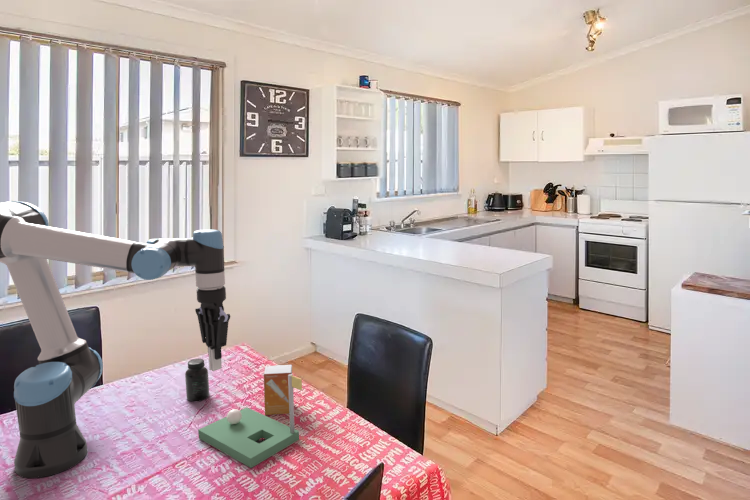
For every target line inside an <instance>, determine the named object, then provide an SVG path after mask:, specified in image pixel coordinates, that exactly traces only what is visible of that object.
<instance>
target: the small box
mask: <svg viewBox="0 0 750 500" xmlns="http://www.w3.org/2000/svg"><path fill="white" fill-rule="evenodd" d="M289 374H292V375H293V364H276V365H265V366H264V372H263V388H264V389H263V391H264V392H263V394H264V396H263V397H264V415H265V416H269V415H272V416H273V415H285V414H286V415H289V385H288V375H289Z"/></svg>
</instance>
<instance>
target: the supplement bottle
mask: <svg viewBox="0 0 750 500" xmlns="http://www.w3.org/2000/svg"><path fill="white" fill-rule="evenodd" d="M205 366H206V365H205V359H204V358H192V359H190V360H189V361H187V369H186V370H185V373H184V378H185V392H186V393H185V394H186V399H187V400H188V401H190V402H201V401H204V400H206V399H208V397H209V396H210V383H209V371H208V368H207V367H205Z"/></svg>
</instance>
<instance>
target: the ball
mask: <svg viewBox="0 0 750 500" xmlns="http://www.w3.org/2000/svg"><path fill="white" fill-rule="evenodd" d="M226 417H227V421H228V422H229V423H230V424H237V423H239V422H240V420H241V418H242V414H241V412H240V410H239V409H236V408H233V409H231V410H229V411H228V412H227V414H226Z"/></svg>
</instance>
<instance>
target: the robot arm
mask: <svg viewBox="0 0 750 500" xmlns="http://www.w3.org/2000/svg"><path fill="white" fill-rule="evenodd" d="M224 248H225V247H224V241H223V233H222V231H220V230H219V229H198V230H197V229H196V230H194V231H193V234H192V237H187V238H186V237H185V238H181V237H180V238H179V237H176V238H170V237H167V238H164V237H159V238H150V239H148V240H147V241H146V242H140V241H139V242H137V241H134V240H127V239H123V238H122V239H121V238H117V237H112V236H111V237H110V236H107V235H106V236H105V235H99V234H93V233H88V232H82V231H77V230H72V229H71V230H70V229H65V228H59V227H53V226H50V225H49V220H48V218H47V216H46V214H45V212H43V211H42V210H41V208H40V207H38V206H37V205H34V204H33V203H30V202H26V201H16V200H10V201H5V202H0V263H2V264H4V265H5V266H6V267H7V270H8V272H9V275H10V278H11V280H12V282H13V284H14V287H15V289H16V291H17V295H18V297H19V299H20V302H21V304H22V306H23V308H24V310H25V314H26V316H27V318H28V320H29V323H30V325H31V329H32V330H33V333H34V335H35V338H36V340H37V343H38V345H39V347H40V353H39V355H38V356H37V361H38V364H36V365H35V366H31V367H28V368H27V369H25V370H24V371H22V372H21V373H20V374H19V375H18V376H17V377H16V378H15V380H14V385H13V389H14V391H13V398H14V402H15V409H16V416H17V422H18V429H19V430H18V431H19V443H18V446H17V449H16V454H15V458H14V461H13V465H14V472H15V474H16V475H17V476H19V477H22V478H24V479H25V478H27V479H35V478H37V479H38V478H44V477H49V476H52V475H56V474H60V473H62V472H64V471H67V470H69V469H71V468H73V467H74V466H76V465H77V464H78V463H80V462H81V461H83V459H84V458H85V457H86V456H87V454H88V444H87V443H88V442H87V441H86V438H85V437H84V435H83V433H82V432H81V429H80V428H79V425H78V424H77V418H76V405H75V404H76V403H77V402H78V401H79V400H80V399H81V398H82V397H83V396H84V395H86V394H87V392H89V391H90V390H92V389H93V387H94V386H95V385H96V384H97V382H98V381H99V380H100V378H101V376H102V373H103V372H104V371H103V370H104V369H103V368H104V365H103V364H104V362H103V359H102V357H101V355H100V353H98V351H96V349H92V348H91V347H89V345H88V343H87V340H86V339H83V338H80V337H79V336H78V334H77V332H76V329H75V327H74V324H73V322H72V319H71V316H70V314H69V312H68V309H67V307H66V304H65V302H64V299H63V296H62V294H61V291H60V290H59V287H58V284H57V281H56V279H55V277H54V274H53V272H52V269H51V267H50V263H49V261H48V260H51V261H58V262H64V263H70V264H75V265H82V266H87V267H95V268H100V269H106V270H113V271H118V272H119V271H120V272H125V273H129V274H134V275H136V276H137V277H138V278H140V279H143V280H146V281H151V280H156V279H160V278H161V277H163V276H164V275H166V274H167V273H168V272H169V271H170V270H173V268H176V267H193V266H194V270H195V274H194V275H195V286H196V287H197V289H196V301H197V302H198V303H199V304H200V307H197V308H195V309H194V310H195V314H196V316H197V321H198V327H199V331H200V336H201V341H202V342H201V343H203V344H205V345H206V347H207V352H208V353H207V355H208V365H209V366H208V367H209V368H208V369H209V370H210V371H212V372H215V371H219V370H221V369H223V367H222V366H223V365H222V356H223V355H222V354H223V353H222V347H225V346H227V340H228V330H229V322H230V319H231V315H230V313H227V314H226V312H225V307H224V304H223V302H224V301H226V299H227V292H226V287H225V284H226V277H225V249H224Z"/></svg>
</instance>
